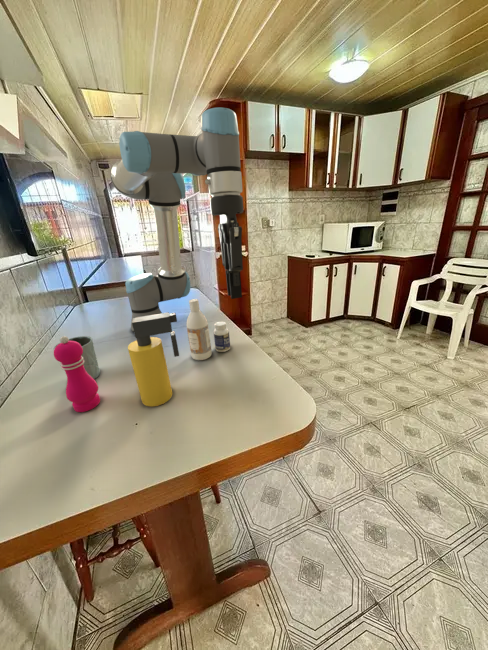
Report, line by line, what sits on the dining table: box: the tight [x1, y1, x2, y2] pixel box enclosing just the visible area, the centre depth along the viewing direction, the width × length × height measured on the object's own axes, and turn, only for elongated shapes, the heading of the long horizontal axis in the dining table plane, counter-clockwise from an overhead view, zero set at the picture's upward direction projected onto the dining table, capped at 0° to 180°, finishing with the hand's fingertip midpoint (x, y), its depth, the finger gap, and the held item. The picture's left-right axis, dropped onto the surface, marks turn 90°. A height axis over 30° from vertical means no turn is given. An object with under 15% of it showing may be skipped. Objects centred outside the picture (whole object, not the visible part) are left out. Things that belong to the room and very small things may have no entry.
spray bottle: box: [127, 311, 178, 407], centre depth 68 cm, size 8×13×22 cm, turn 107°
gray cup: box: [53, 335, 101, 380], centre depth 82 cm, size 10×10×12 cm
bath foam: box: [186, 298, 213, 361], centre depth 88 cm, size 7×7×20 cm
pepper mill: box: [53, 335, 101, 413], centre depth 67 cm, size 7×7×20 cm
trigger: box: [169, 330, 180, 358], centre depth 68 cm, size 3×1×6 cm, turn 17°
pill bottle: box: [213, 321, 231, 353], centre depth 94 cm, size 5×5×10 cm
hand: (234, 296), depth 69 cm, fingers open, 3 cm apart
